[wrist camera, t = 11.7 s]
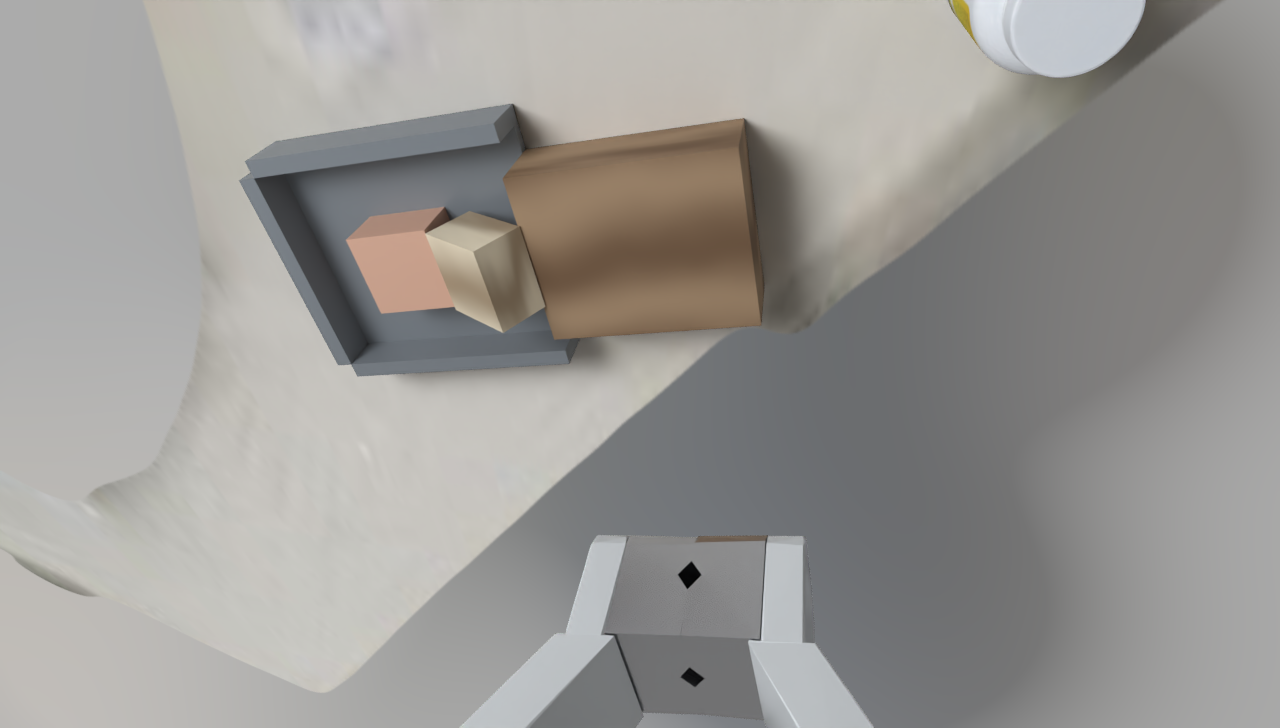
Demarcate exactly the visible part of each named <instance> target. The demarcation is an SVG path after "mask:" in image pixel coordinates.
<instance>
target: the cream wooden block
mask: <svg viewBox="0 0 1280 728" xmlns="http://www.w3.org/2000/svg"><path fill="white" fill-rule="evenodd" d="M425 235H426V237H427V240H428V242H429V245H430V247H431V250H432V252H433V254H434V257H435V259H436V262H437V264H438V267H439V269H440V272H441V274H442V277H443V279H444V282H445V284H446V286H447V289H448V291H449V294H450V296H451V299H452V301H453V304H454V306H455V309H456V310H457V311H459V312H461V313H463V314H465V315H467V316H469V317H471V318H473V319H475V320H477V321H480V322H482V323H484V324H486V325H488V326H490V327H492V328H494V329H496V330H498V331H500V332H502V333H504V332H506V331H507V330H509V329H510V328H512V327H514V326H515V325H517V324H518V323H520V322H522V321H523V320H525V319H526V318H528V317H530V316H531V315H533V314H534V313H536V312H538V311H539V310H541V309H542V308H544V307H545V304H544V301H543V298H542V295H541V291H540V288H539V285H538V282H537V279H536V276H535V273H534V270H533V267H532V264H531V261H530V258H529V254H528V251H527V248H526V245H525V242H524V239H523V236H522V233H521V230H520V227H519V226H517V225H513V224H510V223H507V222H504V221H500V220H497V219H494V218H491V217H487V216H484V215H481V214H478V213H474V212H471V211H468V212H467V213H465V214H463V215H461V216H459V217H457V218H455V219H453V220H451V221H449V222H447V223H445V224H443V225H441V226H439V227H437V228H435V229H433V230H431V231H429V232H428V233H426V234H425Z"/></svg>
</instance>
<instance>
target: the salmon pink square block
mask: <svg viewBox="0 0 1280 728" xmlns="http://www.w3.org/2000/svg"><path fill="white" fill-rule="evenodd" d="M449 221H450V219H449V217H448V214H447V212H446V209H445V207H439V208H432V209H424V210H416V211H409V212H401V213H393V214H386V215H378V216H370V217H369V218H368V219H367V220H366V221H365V222H364V223H363V224H362V225H361V226H360V227H359V228H358V229H357V230H356V231H355V232H354V233H353V234H352V235H350V236H349V237H348V238H347V239H346V241H347V243H348V245H349V247H350V250H351V252H352V254H353V256H354V258H355V260H356V262H357V264H358V266H359V268H360V270H361V273H362V275H363V277H364V279H365V281H366V283H367V285H368V287H369V289H370V291H371V293H372V295H373V298H374V300H375V302H376V304H377V306H378V308H379V310H380V312H381V314H383V313H394V312H405V311H416V310H427V309H438V308H449V307H455V306H454V304H453V301H452V299H451V296H450V294H449V291H448V289H447V286H446V284H445V282H444V279H443V277H442V274H441V272H440V269H439V267H438V264H437V262H436V259H435V257H434V254H433V252H432V250H431V247H430V245H429V242H428V240H427V237H426V235H425V234H426V233H428V232H429V231H431V230H433V229H435V228H437V227H439V226H441V225H443V224H445V223H447V222H449Z"/></svg>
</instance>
